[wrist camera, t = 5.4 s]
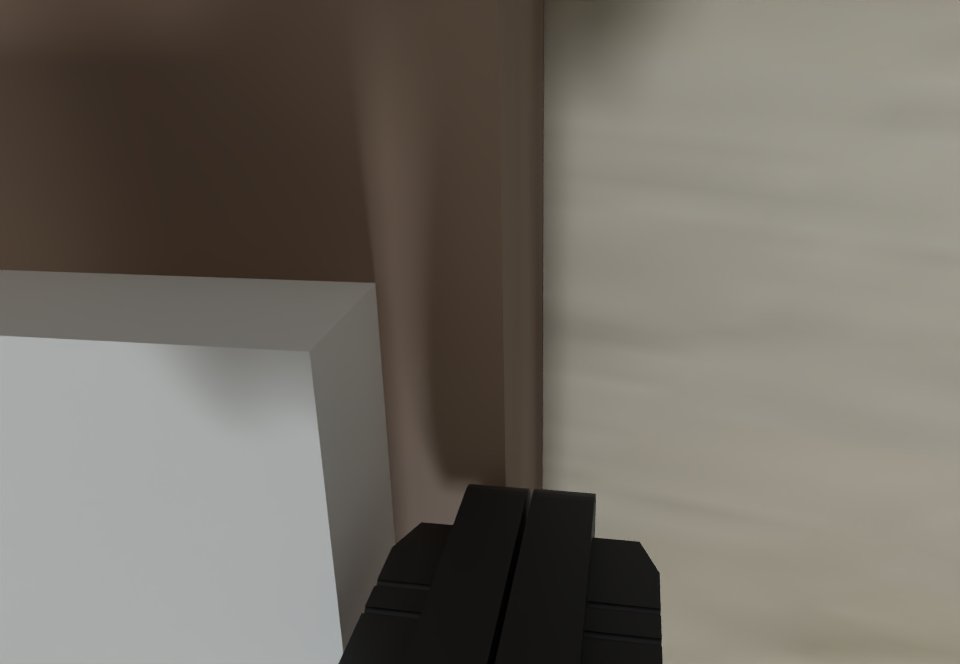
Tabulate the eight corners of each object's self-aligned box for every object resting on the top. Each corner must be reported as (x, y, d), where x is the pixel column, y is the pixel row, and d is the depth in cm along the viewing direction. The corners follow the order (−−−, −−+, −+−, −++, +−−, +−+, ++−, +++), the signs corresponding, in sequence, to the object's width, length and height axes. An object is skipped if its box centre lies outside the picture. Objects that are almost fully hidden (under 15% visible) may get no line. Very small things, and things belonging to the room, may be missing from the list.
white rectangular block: (376, 282, 9) (309, 350, 7) (406, 687, 11) (361, 816, 10) (-272, 260, 11) (-457, 312, 9) (-135, 618, 13) (-261, 718, 11)
